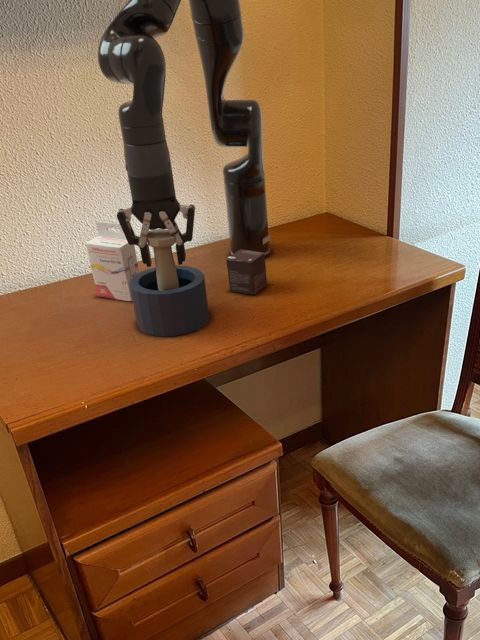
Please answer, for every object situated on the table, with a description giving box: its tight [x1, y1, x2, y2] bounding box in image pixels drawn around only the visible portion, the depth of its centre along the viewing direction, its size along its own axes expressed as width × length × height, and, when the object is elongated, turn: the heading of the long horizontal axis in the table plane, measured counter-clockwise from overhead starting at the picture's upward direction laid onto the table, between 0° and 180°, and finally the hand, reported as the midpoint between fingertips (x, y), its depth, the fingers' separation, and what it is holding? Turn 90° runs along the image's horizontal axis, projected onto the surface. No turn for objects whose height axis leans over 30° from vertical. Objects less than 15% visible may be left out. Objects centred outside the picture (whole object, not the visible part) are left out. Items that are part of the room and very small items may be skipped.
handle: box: [146, 228, 179, 291], centre depth 123 cm, size 5×6×15 cm
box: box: [225, 249, 268, 296], centre depth 139 cm, size 6×6×7 cm
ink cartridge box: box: [85, 221, 140, 302], centre depth 135 cm, size 9×5×15 cm, turn 71°
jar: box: [129, 264, 210, 337], centre depth 126 cm, size 14×14×8 cm
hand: (164, 263), depth 122 cm, fingers closed on handle, 5 cm apart
